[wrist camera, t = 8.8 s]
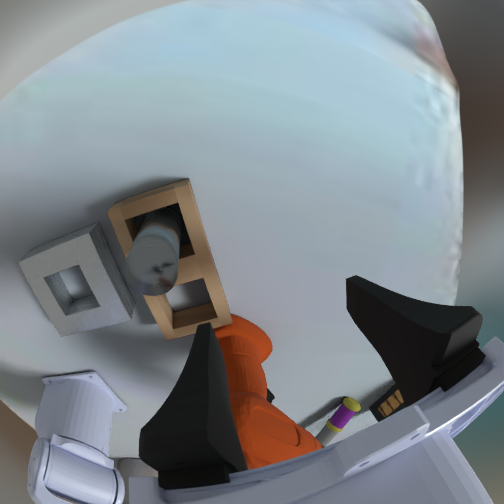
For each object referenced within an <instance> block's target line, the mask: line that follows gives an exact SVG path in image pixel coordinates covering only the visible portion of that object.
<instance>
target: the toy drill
mask: <svg viewBox="0 0 504 504" xmlns="http://www.w3.org/2000/svg"><path fill="white" fill-rule="evenodd" d="M231 318H232V322H233V323H231V324H227V325H224V326H220V327H217V328H213V330H214V332H215V335H216V337H217V339H218V342H219V344H220V347H221V349H222V353H223V357H224V361H225V365H226V372H227V380H228V389H229V397H230V404H231V410H232V414H233V418H234V422H235V426H236V430H237V433H238V437H239V440H240V444H241V447H242V450H243V454H244V457H245V460H246V463H247V466H248V468H249V469H255V468H259V467H263V466H267V465H271V464H275V463H278V462H282V461H285V460H288V459H292V458H295V457H298V456H301V455H304V454H307V453H310V452H313V451H316V450H318V449H321V448H324V446H323V445H321V443H320V442H319V441H318V440H317V439H316V438H315V437H314V436H313V435H312V434H311V433H310V432H308V431H307V430H305V429H304V428H302V427H300V426H299V425H298V424H296V423H295V422H294V421H293V420H291V419H290V418H289V417H288V416H287V415H285V414H284V413H283V412H282V411H280V410H279V409H278V408H276V407H275V406H274V405H272V404H271V402H272V400H273V399H275V397H274V395H273V394H272V393H271V392H270V390H269V389H268V388H267V383H266V378H265V373H264V371H263V369H262V366H261V363H262V362H264V361H265V360H266V359H267V358H268V356H269V355H270V354H271V352H272V343H271V340H270V338H269V337H268V336H267V335H266V333H265V332H264V331H263V330H261V329H260V328H259V327H258V326H256V325H255V324H253V323H251V322H250V321H248V320H246V319H244V318H242V317H239V316H237V315H233V314H231Z"/></svg>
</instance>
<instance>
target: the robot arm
mask: <svg viewBox="0 0 504 504" xmlns="http://www.w3.org/2000/svg"><path fill="white" fill-rule="evenodd" d="M346 297H347V310H348V312H349V314H350V316H351V317H352V319H353V321H354V322H355V324H356V325H357V326H358V328H359V329H360V330H361V332H362V333H363V334H364V335H365V337H366V338H367V339H368V340H369V342H370V343H371V344H372V345H373V347H374V348H375V349H376V351H377V352H378V353H379V355H380V356H381V358H382V360H383V361H384V363H385V365H386V366H387V368H388V370H389V372H390V374H391V376H392V377H393V379H394V381H395V383H396V385H397V387H398V389H399V392H400V394H401V396H402V398H403V401H404V403H405V405H406V408H404V409H402V410H400V411H398V412H397V413H395V414H393V415H391V416H389V417H387V418H386V419H384V420H382V421H380V422H378V423H376V424H374V425H372V426H370V427H368V428H366V429H363V430H361V431H359V432H357V433H355V434H353V435H351V436H349V437H347V438H345V439H344V440H341V441H339V442H336V443H334V444H331V445H329V446H326V447H324V448H321V449H318V450H316V451H313V452H310V453H307V454H304V455H301V456H298V457H295V458H292V459H288V460H285V461H282V462H278V463H275V464H271V465H267V466H263V467H259V468H255V469H251V470H249V469H248V466H247V463H246V460H245V457H244V454H243V450H242V447H241V444H240V440H239V437H238V433H237V430H236V426H235V422H234V418H233V414H232V410H231V404H230V397H229V389H228V380H227V372H226V365H225V361H224V357H223V353H222V349H221V347H220V344H219V342H218V339H217V337H216V335H215V332H214V330H213V327H212V325H211V323H210V322H207V323H204V324H200V325H198V326H197V329H196V334H195V337H194V341H193V344H192V347H191V350H190V353H189V356H188V359H187V361H186V364H185V366H184V369H183V371H182V373H181V375H180V377H179V379H178V381H177V383H176V385H175V387H174V388H173V390H172V392H171V393H170V395H169V396H168V398H167V399H166V401H165V402H164V404H163V405H162V406H161V408H160V409H159V410H158V412H157V413H156V414H155V415H154V416H153V417H152V418H151V419H150V421H149V422H148V423H147V424H146V425H145V426H144V427H143V428H142V429H141V432H140V438H139V457H140V459H141V460H142V461H143V462H144V463H145V464H147V465H148V466H150V467H151V468H153V469H155V470H156V471H158V478H157V477H129V504H493V502H492V500H491V498H490V497H489V495H488V494H487V492H486V490H485V489H484V487H483V485H482V484H481V482H480V481H479V479H478V477H477V476H476V474H475V473H474V471H473V470H472V468H471V467H470V465H469V464H468V462H467V461H466V459H465V457H464V456H463V454H462V453H461V451H460V450H459V448H458V447H457V446H456V444H455V443H454V441H453V440H452V438H454V436H456V435H457V434H458V433H460V432H461V431H462V430H463V429H464V428H465V427H466V426H468V425H469V424H470V423H471V422H472V421H473V420H474V419H475V418H476V417H477V416H479V415H480V414H481V413H482V412H483V411H484V410H485V409H486V408H487V407H488V406H489V405H490V404H491V403H492V402H493V401H494V400H495V399H496V398H497V397H498V396H499V395H500V394H501V393H502V392H503V391H504V344H503V343H502V342H501V341H500V340H499V339H498V338H497V337H494V338H493V339H492V340H491V341H489V342H488V343H487V344H486V345H485V346H484V347H483V348H482V350H480V349H479V348H478V346H479V343H478V342H477V341H476V338H477V335H478V333H479V330H480V328H481V325H482V320H483V319H482V318H483V317H482V315H481V314H480V313H479V312H478V311H477V310H475V309H474V308H473V307H471V306H449V305H440V304H434V303H429V302H424V301H420V300H417V299H413V298H410V297H407V296H404V295H401V294H398V293H396V292H393V291H391V290H388V289H386V288H384V287H381V286H379V285H377V284H375V283H373V282H370V281H368V280H366V279H364V278H362V277H359V276H357V275H355V276H352V277H350V278H347V279H346ZM42 381H43V383H44V384H45V385H46V386H45V389H44V392H43V395H42V398H41V401H40V404H39V407H38V411H37V414H36V418H35V428H36V432H37V435H38V437H39V438H38V439H37V440H36V442H35V444H34V446H33V449H32V452H31V456H30V461H29V467H28V485H27V489H28V491H29V495H30V497H31V498H32V500H33V501H34V502H35V503H36V504H73V503H70V502H67V501H65V500H62V499H60V498H57V497H55V496H53V495H52V494H51V493H53V494H56V495H58V496H60V497H63V498H66V499H68V500H71V501H74V502H76V503H79V504H122V503H123V499H124V494H125V487H124V481H123V478H122V476H121V474H120V472H119V471H118V470H117V469H116V468H114V461H113V460H111V459H109V446H110V435H111V426H112V417H113V413H115V412H125V411H127V407H126V406H125V405H124V404H123V403H122V401H121V400H120V399H119V398H118V397H117V396H116V395H115V394H114V393H113V392H112V390H111V389H110V388H109V387H108V386H107V385H106V384H105V382H104V381H103V380H102V379H101V378H100V376H99V375H98V374H97V373H96V372H93V371H92V372H85V373H78V374H71V375H63V376H55V377H46V378H43V379H42ZM50 492H51V493H50Z"/></svg>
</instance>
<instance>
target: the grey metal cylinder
mask: <svg viewBox="0 0 504 504" xmlns="http://www.w3.org/2000/svg"><path fill="white" fill-rule="evenodd" d="M181 227H182V224H181V219H180V217H179V215H178V214H177V213H176V212H175V211H174V210H172V209H170V208H168V207H162V208H159V209H156V210H153V211H150V212H149V213H148V214H147V216H146V217H145V219H144V221H143V223H142V226H141V228H140V230H139V232H138V234H137V236H136V238H135V240H134V242H133V245H132V247H131V249H130V251H129V253H128V256H127V258H126V260H125V263H124V276H125V279H126V281H127V283H128V284H129V285H130V286H131V287H132V288H133V289H134V290H135V291H137V292H138V293H140V294H143V295H147V296H159V295H162V294H165V293H166V292H168V291H169V290H171V289H172V288H173V286H174V285H175V283H176V281H177V277H178V263H179V250H180V238H181Z"/></svg>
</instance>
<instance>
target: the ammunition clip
mask: <svg viewBox="0 0 504 504" xmlns="http://www.w3.org/2000/svg"><path fill="white" fill-rule="evenodd" d="M404 408H406V405H405V403H404V401H403V398H402V396H401V394H400V392H399V389H398V387H397V385H396V384H395V385H394V386H393V387H392V388H391V389H390V390H388V391H387V392H386V393H385V394H384V395H383V396H382V397H381V398H380V399H378V400H377V401H376V402H375V403H374V404H373V405H371V406H370V407H369V409H370V411H371V412H372V414H373V415H374V417H375V418H376V420H377V421H378V422H380V421H382V420H384V419H386V418H387V417H389V416H391V415H393V414H395V413H397V412H398V411H400V410H402V409H404Z"/></svg>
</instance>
